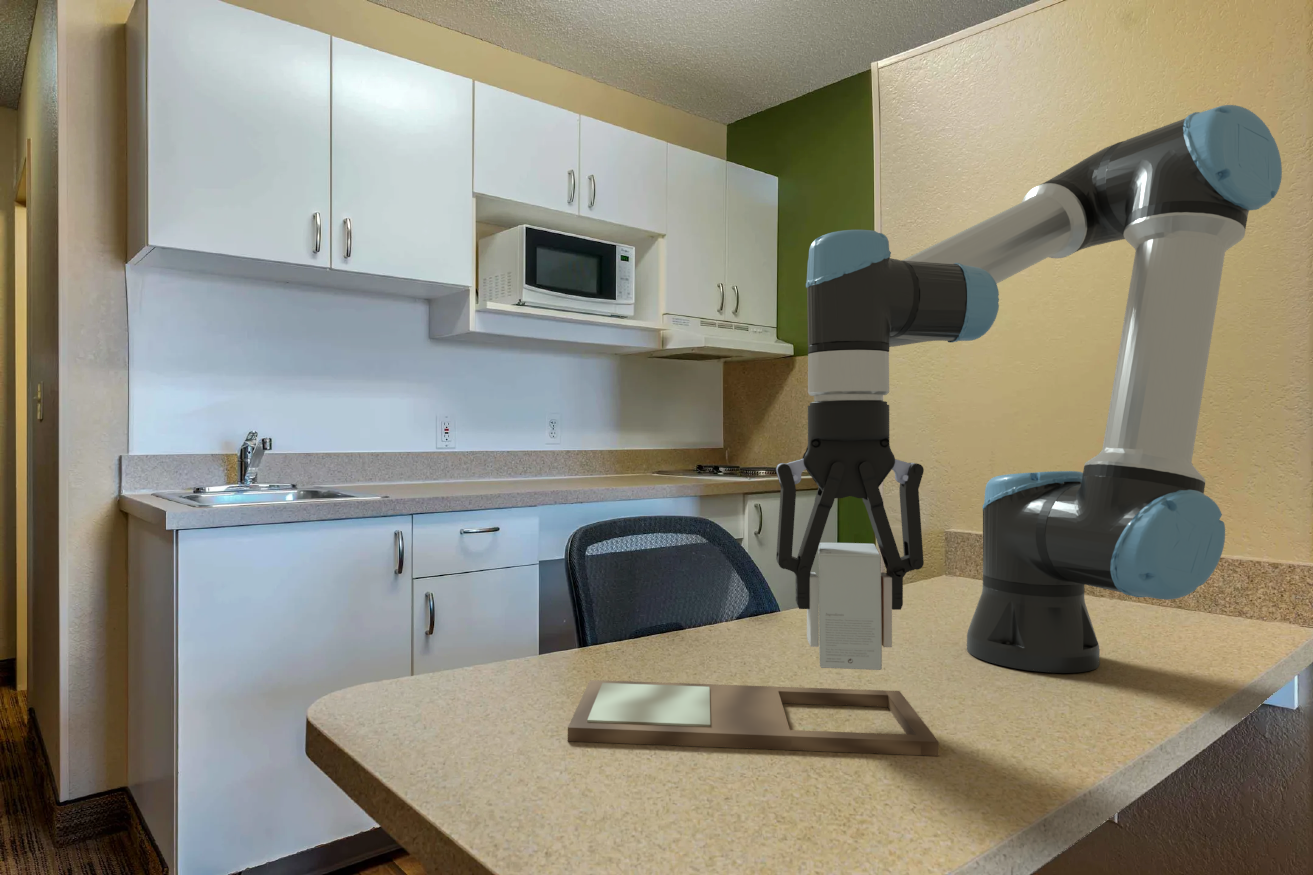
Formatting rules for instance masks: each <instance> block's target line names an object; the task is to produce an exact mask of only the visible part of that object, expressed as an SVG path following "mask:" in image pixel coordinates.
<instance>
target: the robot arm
mask: <svg viewBox="0 0 1313 875" xmlns="http://www.w3.org/2000/svg"><path fill="white" fill-rule="evenodd" d="M1282 168H1283V167H1282V159H1281V154H1280V151H1279V147H1278V144H1277V142H1276V139H1275V137H1274V136H1273V135H1272V133H1271V131H1270V129H1269V127H1268V126H1267V125H1266V123H1265V122H1264V121H1263V120H1262V119H1261V117H1259V116H1258V115H1257V114H1256V113H1255V112H1253V111H1252V110H1249V109H1247V108H1246V107H1243V106H1240V105H1236V104H1235V105H1234V104H1226V105H1225V104H1223V105H1220V106H1216V107H1213V108H1210V109H1207V110H1203V111H1196V112H1193V113H1190V114H1188V115H1187V116H1186V117H1184V118H1182V119H1181V120H1177V121H1175V122H1170V123H1169V124H1166V125H1164V126H1160V127H1158V128H1156V129H1153V130H1151V131H1150V130H1149V131H1147V132H1144V133H1142V134H1139V135H1137V136H1133V137H1131V138H1127V139H1126V140H1123V141H1118V142H1117V143H1114V144H1111V145H1109V146H1107V147H1104V148H1102V149H1100V150H1099V151H1096V152H1095V153H1093V154H1092V155H1090V156H1088V157H1086V158H1085V159H1082V160H1081V161H1079V162H1078V163H1076V164H1074V165H1073V166H1071V167H1069V168H1068V169H1066V170H1064V171H1062V172H1061V173H1059V174H1057V175H1055V176H1053V177H1052V178H1050V179H1049V180H1048V179H1047V180H1046V181H1045V182H1042V183H1041V184H1039V185H1037V186H1034V187H1033V188H1031V189H1030V190H1029V191H1028V192H1027V193H1026V194H1025V195H1024V197H1023V199H1022V201H1021V202H1020V203H1018V204H1016V205H1014V206H1012V207H1010V208H1008V209H1005V210H1004V211H1002V212H1000V213H997V214H995V215H993V216H991V217H989V218H987V219H985V220H983V221H981V222H979V223H977V224H974V225H972V226H970V227H968V228H966V229H964V230H962V231H960V232H958V233H956V234H954V235H952V236H950V237H947V238H946V239H944V240H941V241H940V242H937V243H935V244H933V245H931V246H929V247H927V248H925V249H923V250H921V251H919V252H916V253H915V254H913V255H911V256H907V258H905V259H902V260H901V259H897V258H891V257H892V256H891V254H892V252H891V251H890V243H889V238H888V237H887V236H886V235H885V234H883V233H882V232H878V231H876V230H870V229H846V230H838V231H837V230H836V231H832V232H828V233H826V234H823V235H821V236H818V237H817V238H815V239H814V240H813V241H812V243H810V246H809V250H808V259H807V270H806V271H807V272H806V281H805V282H806V283H805V288H806V290H807V292H806V294H807V296H806V297H807V298H806V299H807V300H806V302H807V347H808V348H807V394H808V395H809V396H810V397H813V401H812V402H809V405H807V447H806V450H805V452H804V453H803V455H802V458H801V459H797V460H794V461H790V462H788V463H784V462H780V463H778V464H777V465H776V466H775V473H776V475H777V479H778V482H779V485H780V494H779V495H780V496H779V507H778V508H779V511H778V526H777V527H778V528H777V542H776V557H775V558H776V559H775V560H776V563H777V564H778V566H779V567H780V568H781V570H782V569H783V570H787V571H790V572H792V573H794V575H795V602H796V605H797V607H798V609H799V610H806V640H807V642H808V644H809V646H810V648H811V647H812V648H815V647H816V648H819V575H817V573H816V572H815V571H813V572H812V568H813V565H814V561H815V559H816V557H817V556H816V555H817V553H818V552H817V551H819V547H818V546H819V543H821V540H822V537H823V533H824V531H825V527H826V524H827V522H828V517H829V515H830V511H831V509H832V507H833V505H834V502H835V499H844V498H848V497H852V498H856V499H862V502H863V505H864V506H865V509H866V511H867V512H866V513H867V514H868V518H869V521H870V524H871V527H872V530H873V532H874V537H875V540H876V542H877V545H878V549H879V553H880V555H881V559H882V561H883V564H884V568H885V569H886V572H882V571H881V618H882V647H883V648H893V610H894V611H895V610H896V611H897V610H898V611H899V610H902V607H903V604H904V586H903V585H904V577H905V576H906V574H907V573H909V572H911V571H915V570H916V571H917V570H921V569H922V568H923V567H924V561H925V560H924V548H923V536H922V533H923V532H922V522H921V518H922V517H921V506H920V495H919V494H920V492H919V488H920V485H921V481H922V478H923V475H924V466H923V465H922V464H920V463H917V462H906V461H904V460H900V459H896V458H895V455H894V453H893V452H892V449H891V446H890V404H888V401H884V396H886V395H888V394H889V393H890V347H892V348H893V347H894V348H895V347H900V346H906V345H912V344H913V345H914V344H920V343H926V342H939V341H944V342H948V343H957V342H968V341H972V342H973V341H975V340H978V339H979V338H981V337H983V336H984V335H985V334H987V333H988V332H989V330H990V329H991V328H992V327H993V325H994V322H995V321H996V319H997V316H998V313H999V307H1000V304H999V301H1000V298H999V296H1000V291H999V288H998V284H999V283H1001V282H1003V281H1005V280H1007V279H1009V278H1010V277H1012V276H1015V275H1016V274H1018V273H1021V272H1023V271H1024V270H1026V269H1028V268H1030V267H1032V266H1034V265H1035V264H1038V263H1040V262H1042V261H1043V260H1046V259H1048V258H1050V259H1063V258H1067V257H1069V256H1071V255H1073V254H1075V253H1077V252H1079V251H1081V250H1084V249H1089V248H1091V247H1095V246H1101V245H1104V244H1108V243H1111V242H1118V241H1122V240H1125V241H1126V242H1127V243H1128V244H1129V245H1131V247H1133V249H1134V250H1135V253H1134V259H1133V263H1132V264H1133V265H1132V270H1131V278H1130V283H1129V289H1128V293H1127V300H1126V306H1125V313H1124V318H1123V325H1122V331H1121V336H1120V337H1121V338H1120V343H1119V348H1118V354H1117V360H1116V365H1115V366H1116V367H1115V373H1114V378H1113V384H1112V389H1111V390H1112V391H1111V396H1110V402H1109V408H1108V414H1107V420H1106V425H1105V432H1104V437H1103V438H1104V439H1103V442H1102V443H1103V444H1102V449H1101V451H1100V452H1099V453H1098V454H1097V455H1095V456H1094V457H1092V458H1090V459H1089V460H1087V461H1086V462H1085V463H1084V464H1083V465H1084V467H1083V471H1075V470H1060V471H1057V470H1055V471H1051V470H1050V471H1038V472H1036V471H1035V472H1022V473H1021V472H1020V473H1019V472H1018V473H1008V474H1007V473H1006V474H1001V475H997V476H994V477H991V478H990V479H989V480H988V482H986V484H985V485H986V486H985V489H984V501H983V502H984V503H983V505H982V590H981V594H980V598H979V600H978V602H977V606H976V608H975V611H974V612H973V613H974V614H973V616H972V619H971V622H970V623H969V627H968V629H967V632H966V633H967V634H966V651H967V652H968V654H970V655H971V656H973V657H975V658H977V659H980V660H983V661H985V662H988V663H990V664H991V663H992V664H994V665H999V666H1002V667H1007V668H1012V669H1018V670H1022V671H1023V670H1024V671H1030V672H1039V673H1040V672H1041V673H1055V674H1057V673H1058V674H1075V673H1085V672H1089V671H1094V670H1095V669H1097V668H1099V667H1100V650H1101V649H1100V643H1099V641H1098V638H1097V636H1096V632H1095V629H1094V626H1093V622H1092V620H1091V617H1090V614H1089V610H1088V608H1087V605H1086V600H1085V586H1091V587H1093V588H1099V589H1103V590H1108V591H1112V592H1118V593H1122V594H1124V595H1127V596H1130V597H1131V596H1132V597H1135V598H1152V599H1157V600H1176V599H1180V598H1183V597H1186V596H1188V595H1190V594H1192V593H1193V592H1195V591H1196V590H1197V588H1198V587H1201V586H1202V585H1203V584H1205V583H1206V582H1207V581H1208V580H1209V578H1210V577H1211V576H1212V575H1213V573H1214V572H1215V569H1216V568H1217V566H1218V564H1219V562H1220V559H1221V557H1222V555H1223V551H1224V548H1225V542H1226V541H1225V540H1226V526H1225V522H1224V521H1223V520H1221V517H1222V515H1223V514H1222V511H1221V508H1220V507H1219V505H1218V504H1217V502H1215V500H1213V499H1212V498H1211V497H1210V496H1208V495H1207V494H1205V487H1206V478H1205V477H1204V476H1203V475H1202V474H1201V473H1200V471H1198V470H1197V468H1196V467H1195V466H1194V465H1193V463H1192V461H1193V455H1194V450H1195V449H1194V448H1195V442H1196V436H1197V430H1198V425H1199V424H1198V423H1199V416H1200V412H1201V407H1202V406H1201V405H1202V399H1203V392H1204V386H1205V381H1206V380H1205V379H1206V375H1207V374H1206V373H1207V369H1208V362H1209V357H1210V356H1209V355H1210V349H1211V343H1212V336H1213V330H1214V323H1215V317H1216V311H1217V305H1218V298H1219V292H1220V287H1221V280H1222V273H1223V267H1224V262H1225V255H1226V252H1227V251H1228V250H1230V249H1231V248H1232V247H1234V246H1236V245H1237V244H1238V243H1240V242H1241V241H1242V240H1243V239H1244V238H1245V234H1246V230H1247V228H1246V227H1247V223H1248V217H1249V212H1250V211H1256V210H1259V209H1261V208H1262V207H1264V206H1266V205H1267V204H1269V203H1270V202H1272V199H1274V198H1275V197H1276V195H1277V193H1278V192H1279V189H1280V187H1281V183H1282V177H1283V176H1282V175H1283V171H1282V170H1283V169H1282ZM805 470H806V472H807V473H808V474H809V476H810V477H811V479H812V480H813V482H815V484H816V485H817V486H818V488H817V491H816V494H815V498H814V503H813V506H812V510H811V513H810V516H809V520H808V522H807V525H806V528H805V532H804V535H803V538H802V541H801V544H800V548H799V551H798V554H797V557H796V556H793V545H794V544H793V543H794V542H793V541H794V530H795V528H794V526H795V514H796V500H797V498H796V497H797V490H796V489H797V488H796V485H797V484H799V483H800V482H801V480H802V473H803V472H804V471H805ZM891 471H893V472H894V479H895V481H896V482H897V483H899V504H900V507H899V508H900V519H901V533H902V535H901V536H902V544H903V545H902V547H903V548H902V549H903V555H902V556H901V555H900V552H899V549H898V547H897V544H896V539H895V536H894V534H893V531H892V527H891V524H890V522H889V521H890V520H889V519H888V515H887V512H886V509H885V507H884V501H883V497H882V493H881V491H880V488H879V487H880V486H881V485H882V483H883V482H884V481H885V479H886V478H887V477H888V475H889V474H890V473H891Z"/></svg>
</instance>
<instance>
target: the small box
mask: <svg viewBox="0 0 1313 875" xmlns="http://www.w3.org/2000/svg"><path fill="white" fill-rule="evenodd" d="M881 572H882V555H881V552H880V551H879V550H878V547H877V546H876V545H875V543H863V542H862V543H861V542H860V543H859V542H856V543H855V542H820V543H819V546H818V577H819V647H818V650H819V667H820V668H821V669H845V670H847V669H848V670H849V669H850V670H871V671H880V670H883V648H882V647H883V646H882V618H881Z"/></svg>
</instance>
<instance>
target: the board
mask: <svg viewBox="0 0 1313 875" xmlns="http://www.w3.org/2000/svg"><path fill="white" fill-rule="evenodd" d="M783 704H794V705H795V704H797V705H801V704H802V705H821V706H823V705H827V706H851V707H853V706H855V707H856V706H857V707H877V708H878V707H880V708H883V707H884V708H885V707H886V708H888V709H889V711H890V712H891V714H892V715H893V717H894V718H895V720H896V721H897V722H898V724H899V725H900V727H901V729H902V730H903V731H904V733H905V734H903V733H901V734H900V733H876V732H856V731H855V732H852V731H851V732H850V731H826V730H825V731H824V730H823V731H822V730H799V729H790V726H789V723H788V719H787V715H786V713H785V712H786V711H785V709H784V706H783ZM567 742H578V743H579V742H580V743H583V742H584V743H603V744H604V743H607V744H608V743H609V744H610V743H611V744H629V745H630V744H632V745H636V744H637V745H652V746H653V745H656V746H657V745H658V746H679V747H680V746H682V747H704V748H705V747H706V748H731V749H732V748H733V749H752V750H753V749H758V750H759V749H760V750H779V751H781V750H782V751H804V752H805V751H807V752H831V753H832V752H833V753H853V754H855V753H856V754H857V753H858V754H859V753H860V754H878V755H880V754H881V755H884V754H885V755H903V756H905V755H908V756H909V755H910V756H929V757H931V756H932V757H934V756H935V757H939V756H940V755H939V753H940V752H939V751H940V747H939V746H940V745H939V744H940V742H939V740H938V739H937V738H936V736H935V735H934V734H933V733H932V731H931V730H930V729H929V727H928V726H927V725H926V723H925V722H924V720H922V718H921V716H919V713H917V712H916V710H915V709H914V707H913V706H912V705H911V704H910V702H909V701H908V700H907V698H906V697H905V696H904V695H903V693H902V692H901V690H882V689H881V690H878V689H854V688H853V689H852V688H826V687H825V688H824V687H823V688H822V687H797V686H796V687H795V686H794V687H793V686H773V685H772V686H770V685H769V686H767V685H764V686H763V685H744V684H743V685H741V684H740V685H739V684H719V683H717V684H713V683H688V682H687V683H684V682H683V683H682V682H660V681H658V682H657V681H633V680H632V681H631V680H630V681H629V680H625V681H624V680H606V679H605V680H603V679H602V680H601V679H600V680H599V679H589V681H588V683H587V686H586V687H585V689H584V691H583V694H582V696H581V699H580V700H579V702H578V705H577V706H576V709H575V711H574V713H573V715H572V717H571V720H570V722H569V724H568V725H567Z"/></svg>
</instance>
